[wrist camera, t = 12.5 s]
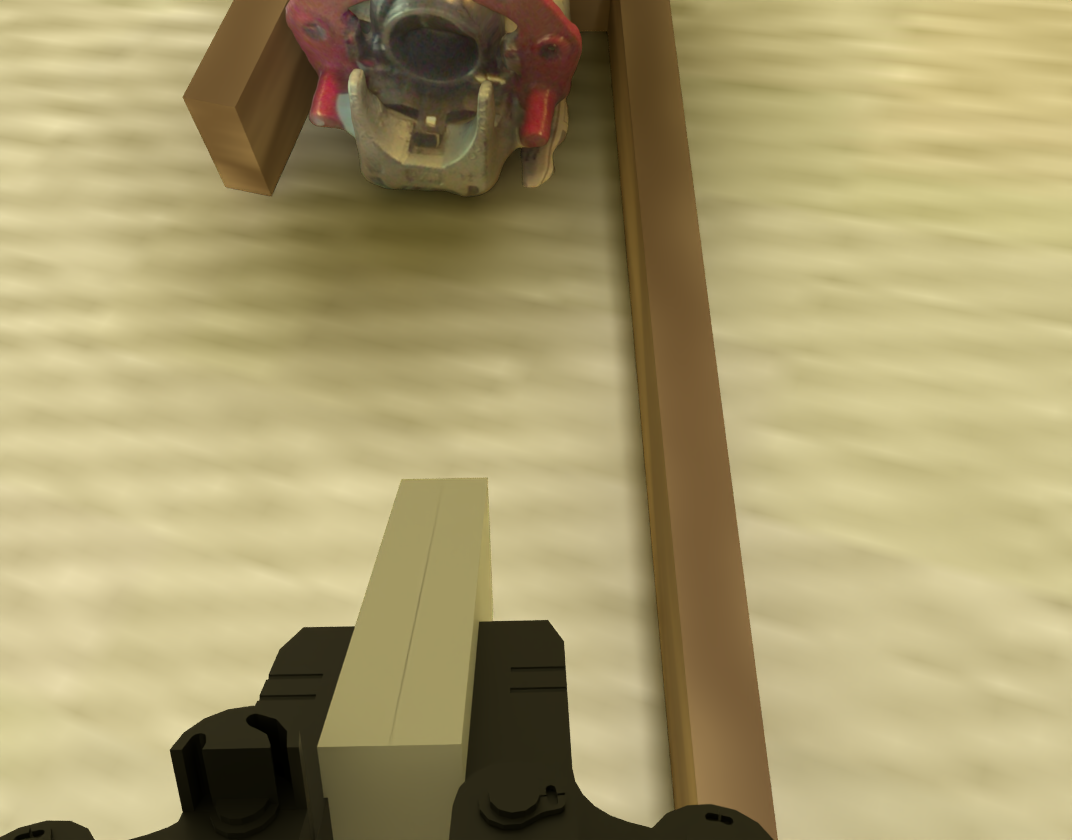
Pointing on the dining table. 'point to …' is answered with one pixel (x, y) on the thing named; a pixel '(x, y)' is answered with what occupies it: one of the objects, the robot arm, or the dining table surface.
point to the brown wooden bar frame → (660, 349)
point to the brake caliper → (442, 85)
